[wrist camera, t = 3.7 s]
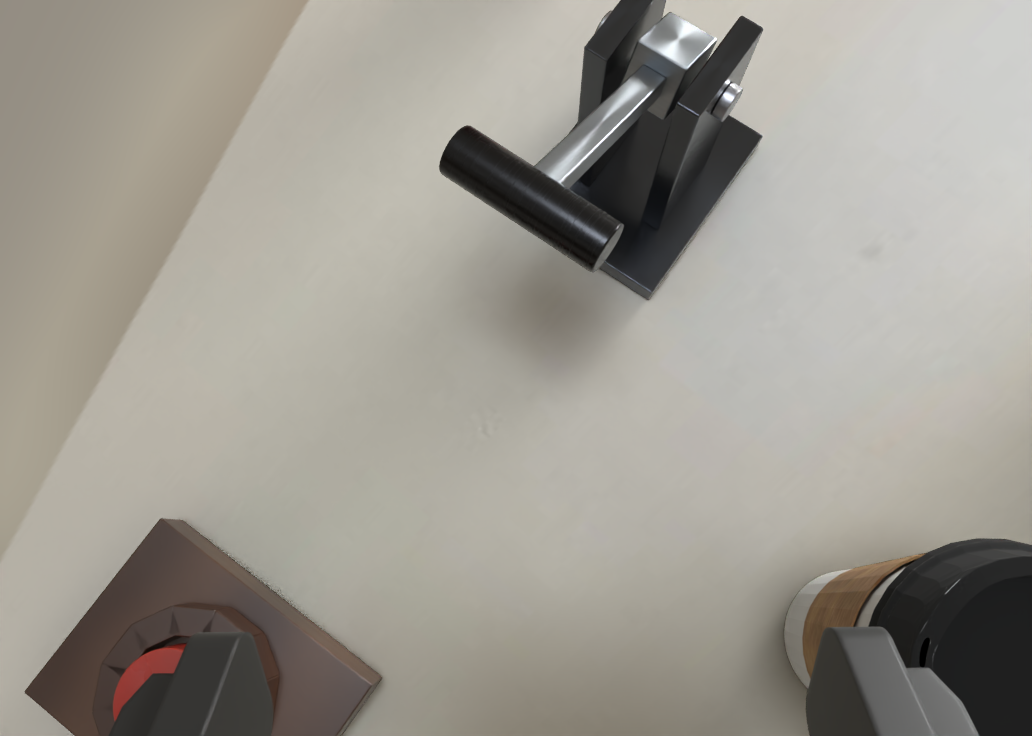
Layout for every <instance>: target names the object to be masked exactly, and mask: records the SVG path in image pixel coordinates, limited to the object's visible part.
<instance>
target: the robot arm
mask: <svg viewBox="0 0 1032 736" xmlns="http://www.w3.org/2000/svg"><path fill="white" fill-rule="evenodd" d="M806 716H807V724H808V730H809V735H810V736H979V734H978V732H977V730H976V728H975V726H974V724H973V722H972V720H971V718H970V716H969V714H968V712H967V710H966V708H965V706H964V705H963V703H962V701H961V700H960V699H959V698H958V697H957V696H956V695H955V694H954V693H953V692H952V691H951V690H950V689H949V688H948V687H947V686H946V685H945V684H944V683H943V682H942V681H941V680H940V679H939V677H938V676H937V675H936V674H935V673H934V672H933V671H932V670H931V669H930V668H906V667H905V665H904V662H903V660H902V658H901V656H900V654H899V652H898V650H897V647H896V645H895V643H894V641H893V639H892V637H891V636H890V634H889V633H888V631H887V630H886V629H884V628H883V627H827V628H825V629H824V631H823V633H822V636H821V640H820V644H819V648H818V652H817V656H816V660H815V664H814V668H813V672H812V675H811V679H810V683H809V687H808V691H807V697H806ZM272 726H273V701H272V696H271V692H270V689H269V686H268V683H267V679H266V676H265V673H264V669H263V666H262V663H261V660H260V656H259V653H258V650H257V647H256V643H255V640H254V637H253V636H252V634H251V633H250V632H198V633H195V634H193V635H192V636H191V637H190V639H189V640H188V642H187V644H186V646H185V648H184V650H183V653H182V655H181V657H180V660H179V662H178V664H177V667H176V669H175V671H174V673H153V674H152V675H151V676H150V677H149V678H148V679H147V680H146V681H145V682H144V683H143V685H142V686H141V687H140V688H139V689H138V690H137V691H136V692H135V693H134V694H133V695H132V697H131V698H130V699H129V700H128V701H127V702H126V703H125V704H124V705H123V706H122V708H121V710H120V712H119V714H118V717H117V719H116V721H115V723H114V725H113V727H112V729H111V731H110V733H109V736H271V733H272Z"/></svg>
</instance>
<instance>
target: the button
mask: <svg viewBox="0 0 1032 736" xmlns="http://www.w3.org/2000/svg"><path fill="white" fill-rule="evenodd" d="M186 644H187V643H181V644H175V645H171V646H167V647H163V648H160V649H156V650H153V651H150V652H147V653H146V654H144V655H142V656H140V657H139V658H138V659H136V660H135V661H134V662H133V663H132V664H131V665H130V666H129V667H128V668H127V669H126V671H125V672H124V674H123V675H122V677H121V679H120V680H119V682H118V685H117V688H116V690H115V694H114V700H113V716H114V721H116V719H117V717H118V714H119V712H120V710H121V708H122V706H123V705H124V704H125V703H126V702H127V701H128V700H129V699H130V698H131V697H132V695H133V694H134V693H135V692H136V691H137V690H138V689H139V688H140V687H141V686H142V685H143V683H144V682H145V681H146V680H147V679H148V678H149V677H150V676H151V675H152V674H153V673H174V671H175V669H176V667H177V664H178V662H179V660H180V657H181V655H182V653H183V650H184V648H185V646H186Z"/></svg>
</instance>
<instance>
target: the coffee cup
mask: <svg viewBox="0 0 1032 736" xmlns="http://www.w3.org/2000/svg"><path fill="white" fill-rule="evenodd" d="M827 627H883V628H884V629H886V630H887V631H888V633H889V634H890V636H891V637H892V639H893V641H894V643H895V645H896V647H897V650H898V652H899V654H900V656H901V658H902V660H903V662H904V665H905V667H906V668H930V669H931V670H932V671H933V672H934V673H935V674H936V675H937V676H938V677H939V679H940V680H941V681H942V682H943V683H944V684H945V685H946V686H947V687H948V688H949V689H950V690H951V691H952V692H953V693H954V694H955V695H956V696H957V697H958V698H959V699H960V700H961V701H962V703H963V705H964V706H965V708H966V710H967V712H968V714H969V716H970V718H971V720H972V722H973V724H974V726H975V728H976V730H977V732H978V734H979V736H1032V545H1029V544H1025V543H1020V542H1015V541H1011V540H1006V539H972V540H966V541H960V542H954V543H950V544H948V545H945V546H943V547H940V548H938V549H935V550H933V551H930V552H928V553H924V554H919V555H914V556H909V557H905V558H900V559H895V560H890V561H886V562H881V563H876V564H871V565H867V566H862V567H857V568H854V569H848V570H841V571H836V572H830V573H827V574H824V575H822V576H819V577H817V578H815V579H814V580H812V581H811V582H809V583H808V584H806V585H805V586H804V587H803V588H802V589H801V590H800V591H799V593H798V594H797V595H796V597H795V598H794V600H793V601H792V603H791V605H790V607H789V610H788V613H787V616H786V620H785V627H784V639H785V647H786V651H787V656H788V659H789V661H790V663H791V666H792V668H793V670H794V672H795V673H796V675H797V676H798V678H799V679H800V681H801V682H802V683H803V684H804V685H805V686H806V687H807V688H808V687H809V683H810V679H811V675H812V672H813V668H814V664H815V660H816V656H817V652H818V648H819V644H820V640H821V636H822V633H823V631H824V629H825V628H827Z"/></svg>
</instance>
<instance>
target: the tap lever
mask: <svg viewBox="0 0 1032 736" xmlns="http://www.w3.org/2000/svg"><path fill="white" fill-rule="evenodd" d="M716 41H717V39H716V38H714V37H713V36H711V35H709V34H708V33H706V32H704V31H702V30H701V29H699V28H697V27H696V26H694V25H692V24H690V23H689V22H687V21H685V20H684V19H682V18H680V17H679V16H677V15H675V14H673V13H672V12H669V13H668V14H667V15H666V16H664V17H663V18H662V19H661V20H660V21H659V22H658V23H657V24H655V25H654V26H653V27H652V28H651V29H650V30H649V31H648V32H647V33H645V34H644V35H643V36H642V37H641V38H640V39H639V40H638V41H637V43H636V46H635V48H634V51H633V53H632V56H631V58H630V61H629V63H628V66H627V68H626V71H625V74H624V76H623V79H622V81H621V84H620V86H619V87H618V88H617V89H616V90H615V91H614V92H613V93H612V94H611V95H610V96H609V97H608V98H607V99H606V100H605V101H604V102H602V103H601V104H600V105H599V106H598V107H597V108H596V109H595V110H594V111H593V112H592V113H591V114H590V115H589V116H588V117H586V118H585V119H584V120H583V121H582V122H581V123H580V124H579V125H578V126H577V127H576V128H575V129H574V130H573V131H571V132H570V133H569V134H568V135H567V136H566V137H565V138H564V139H563V140H562V141H561V142H560V143H559V144H558V145H557V146H555V147H554V148H553V149H552V150H551V151H550V152H549V153H548V154H547V155H546V156H545V157H544V158H543V159H542V160H541V161H539V162H538V163H537V164H536V165H535V166H533V165H531V164H529V163H528V162H526V161H525V160H523V159H522V158H520V157H518V156H517V155H515V154H514V153H512V152H511V151H509V150H508V149H506V148H504V147H503V146H501V145H500V144H498V143H497V142H495V141H494V140H492V139H490V138H489V137H487V136H486V135H484V134H483V133H481V132H479V131H478V130H476V129H475V128H473V127H472V126H468V125H467V126H464V127H462V128H461V129H460V130H458V131H457V132H456V134H455V135H454V136H453V137H452V138H451V140H450V141H449V143H448V144H447V146H446V148H445V150H444V152H443V154H442V157H441V160H440V165H439V169H440V172H441V174H442V175H444V176H445V177H447V178H448V179H450V180H451V181H453V182H454V183H456V184H457V185H459V186H460V187H462V188H463V189H465V190H467V191H468V192H470V193H471V194H473V195H474V196H476V197H477V198H479V199H480V200H482V201H483V202H485V203H486V204H488V205H489V206H491V207H492V208H494V209H495V210H497V211H499V212H500V213H502V214H503V215H505V216H506V217H508V218H509V219H511V220H512V221H514V222H515V223H517V224H518V225H520V226H521V227H523V228H524V229H526V230H527V231H529V232H530V233H532V234H534V235H535V236H537V237H538V238H540V239H541V240H543V241H544V242H546V243H547V244H549V245H550V246H552V247H553V248H555V249H556V250H558V251H559V252H561V253H562V254H564V255H566V256H567V257H569V258H570V259H572V260H573V261H575V262H576V263H578V264H579V265H581V266H582V267H584V268H585V269H587V270H588V271H590V272H595V271H596V270H597V269H598V268H599V267H600V266H601V265H602V264H603V262H604V261H605V260H606V258H607V257H608V256H609V254H610V253H611V251H612V250H613V248H614V246H615V245H616V243H617V241H618V240H619V238H620V236H621V234H622V231H623V228H624V225H623V223H621V222H620V221H618V220H617V219H615V218H614V217H612V216H611V215H609V214H607V213H606V212H604V211H603V210H601V209H600V208H598V207H597V206H595V205H593V204H592V203H590V202H589V201H587V200H586V199H584V198H582V197H581V196H579V195H578V194H576V193H575V192H573V191H572V190H570V189H569V188H570V187H571V186H572V185H573V184H574V183H575V182H576V181H577V180H578V179H579V178H580V177H581V176H582V175H583V174H584V173H585V172H586V171H587V170H588V169H589V168H590V167H591V166H592V165H593V164H594V163H595V162H596V161H597V160H598V159H599V158H600V157H601V156H602V155H603V154H604V153H605V152H606V151H607V150H608V149H609V148H610V147H611V146H612V145H613V144H614V143H615V142H616V141H617V140H618V139H619V138H620V137H621V136H622V135H623V134H624V133H625V132H626V131H627V129H628V128H629V127H630V126H631V125H632V124H633V123H634V122H635V121H636V120H637V119H638V118H639V117H640V116H641V115H642V114H643V113H644V112H645V111H646V110H648V111H649V112H651V113H652V114H654V115H656V116H657V117H659V118H661V119H663V120H664V119H665V118H666V117H667V116H668V115H669V114H670V113H671V112H672V111H673V110H674V109H675V107H676V103H677V102H678V100H679V99H680V97H681V96H682V95H683V93H684V92H685V91H686V89H687V88H688V87H689V85H690V84H691V82H692V81H693V80H694V78H695V77H696V76H697V74H698V73H699V72H700V70H701V69H702V68H703V66H704V65H705V63H706V62H707V60H708V58H709V56H710V54H711V52H712V50H713V48H714V46H715V44H716Z"/></svg>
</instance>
